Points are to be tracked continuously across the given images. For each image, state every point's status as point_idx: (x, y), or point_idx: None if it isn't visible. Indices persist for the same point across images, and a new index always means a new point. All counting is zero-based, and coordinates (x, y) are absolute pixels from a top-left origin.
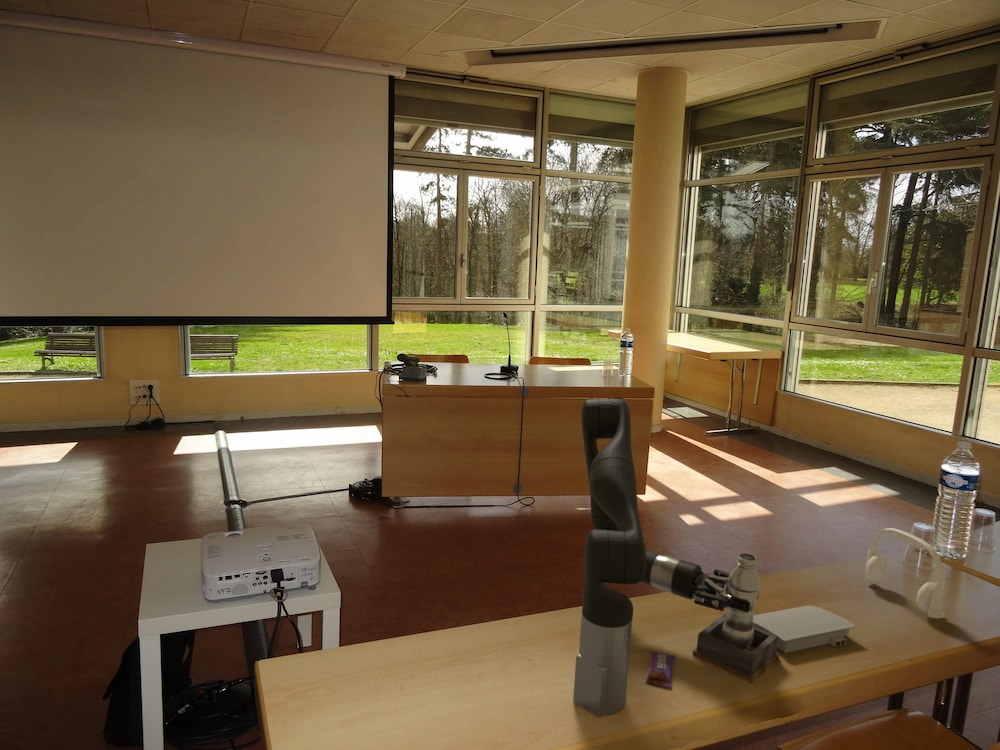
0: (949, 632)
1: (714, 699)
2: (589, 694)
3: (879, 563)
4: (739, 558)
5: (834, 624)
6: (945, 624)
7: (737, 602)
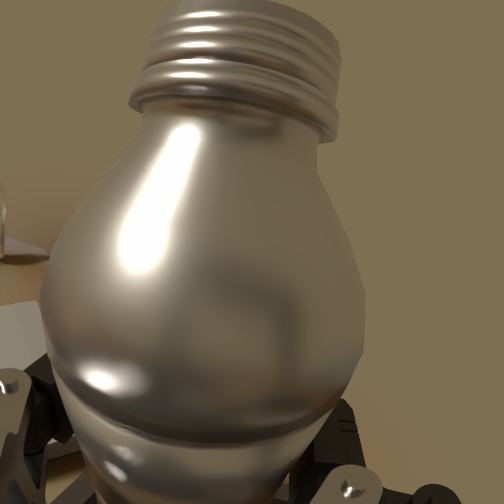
0: (30, 261)
1: None
2: None
3: None
4: (318, 31)
5: (27, 320)
6: (15, 258)
7: (355, 435)
